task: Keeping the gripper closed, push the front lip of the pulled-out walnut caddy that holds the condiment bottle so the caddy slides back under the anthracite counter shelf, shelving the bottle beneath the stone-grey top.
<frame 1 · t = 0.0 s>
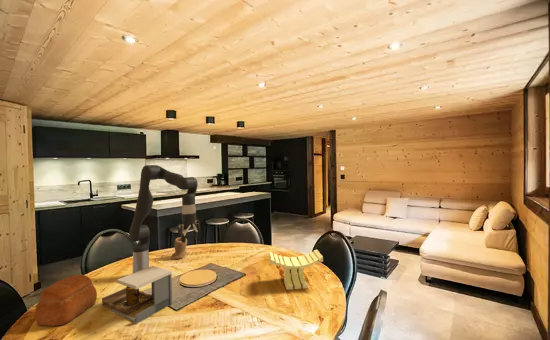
hand: (189, 240, 149), 29 cm above the table, fingers open, 8 cm apart
condiment: (131, 304, 137), resting in caddy
slatted curved stool: (295, 283, 158), on the table
brown boot: (180, 256, 207), on the table
caddy: (128, 298, 138), point 2 cm above the table, slide at 10.0 cm
bread: (68, 314, 128), on the table
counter: (146, 309, 131), on the table
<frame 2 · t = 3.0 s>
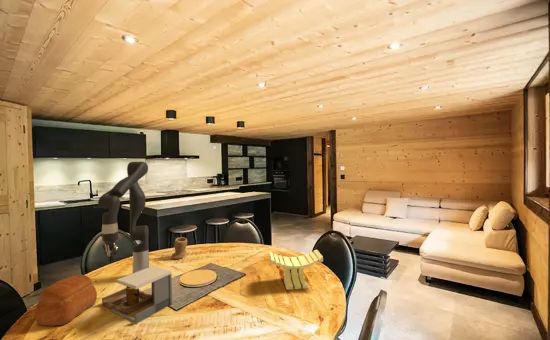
hand: (111, 262, 145), 19 cm above the table, fingers closed
nothing on the table moved.
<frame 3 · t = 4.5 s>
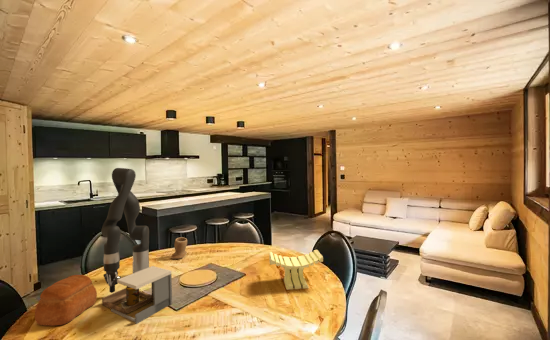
hand: (112, 291, 145), 3 cm above the table, fingers closed
nothing on the table moved.
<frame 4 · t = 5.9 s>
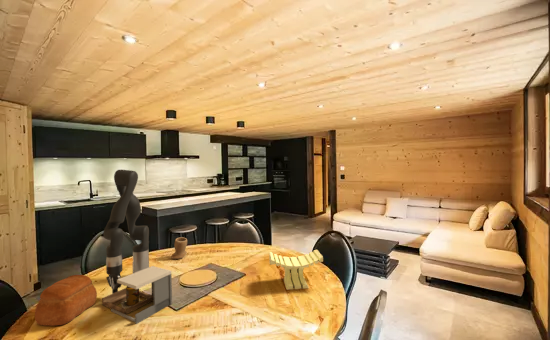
hand: (115, 294, 143), 2 cm above the table, fingers closed
caddy: (128, 298, 138), point 2 cm above the table, slide at 10.0 cm, touching gripper
everything else where it was.
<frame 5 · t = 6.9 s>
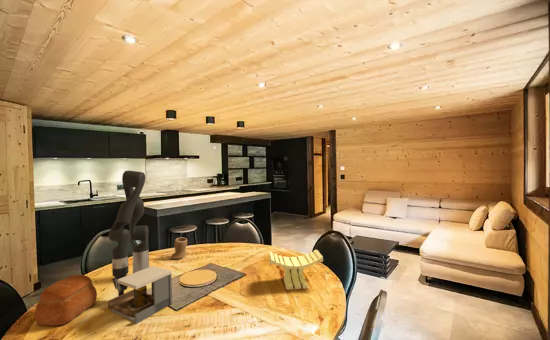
hand: (121, 297, 140), 2 cm above the table, fingers closed
condiment: (138, 305, 135), resting in caddy
caddy: (135, 301, 135), point 2 cm above the table, slide at 4.3 cm, touching gripper
everything else where it was.
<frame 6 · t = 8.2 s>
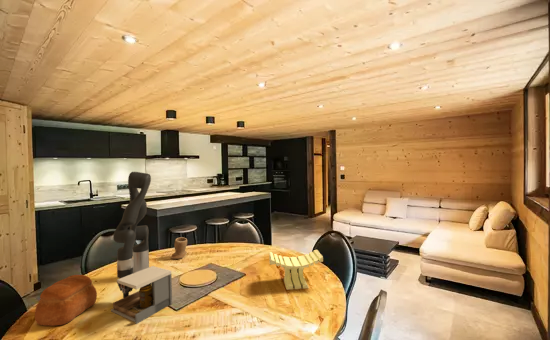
hand: (126, 299, 138), 2 cm above the table, fingers closed
condiment: (144, 306, 134), resting in caddy
caddy: (140, 303, 133), point 2 cm above the table, slide at 0.0 cm, touching gripper
everything else where it was.
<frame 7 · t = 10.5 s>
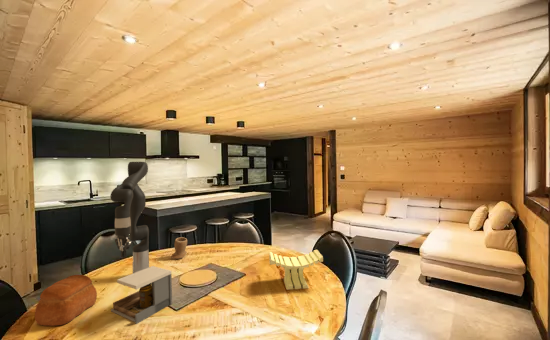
hand: (123, 257, 142), 23 cm above the table, fingers closed
caddy: (140, 303, 133), point 2 cm above the table, slide at 0.0 cm
everything else where it was.
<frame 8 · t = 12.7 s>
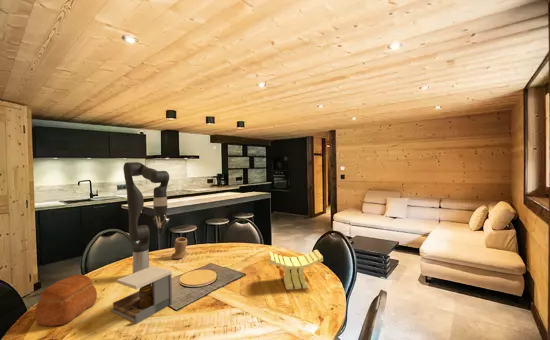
hand: (161, 233, 154), 32 cm above the table, fingers closed
nothing on the table moved.
at the end: caddy slide at 0.0 cm; condiment inside the target area (2.0 cm from its centre), resting in caddy; condiment tilted 0° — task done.
